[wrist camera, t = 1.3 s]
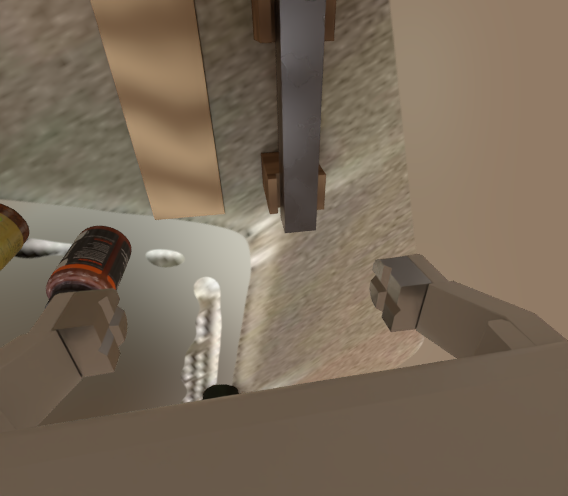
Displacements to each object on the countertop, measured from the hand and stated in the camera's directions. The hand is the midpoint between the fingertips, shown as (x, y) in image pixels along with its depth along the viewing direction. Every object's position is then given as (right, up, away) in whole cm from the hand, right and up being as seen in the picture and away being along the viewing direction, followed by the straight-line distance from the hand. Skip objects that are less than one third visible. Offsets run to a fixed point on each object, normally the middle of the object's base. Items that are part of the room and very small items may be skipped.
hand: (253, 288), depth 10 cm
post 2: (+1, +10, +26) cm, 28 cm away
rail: (+2, +13, +17) cm, 21 cm away
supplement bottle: (-20, +2, +28) cm, 35 cm away
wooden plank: (-10, +15, +20) cm, 27 cm away
